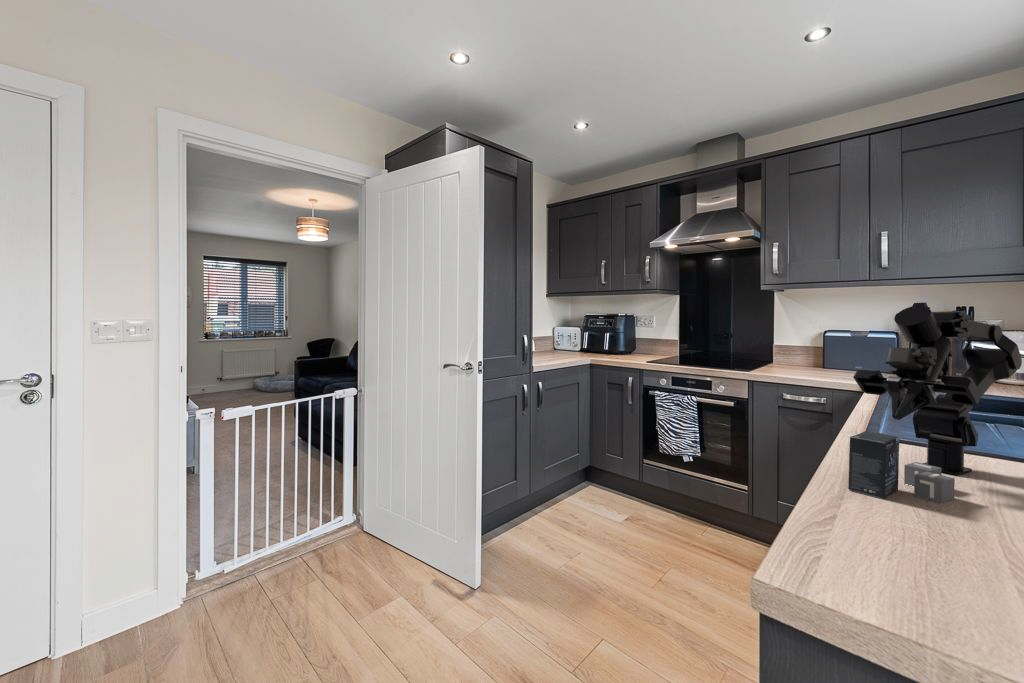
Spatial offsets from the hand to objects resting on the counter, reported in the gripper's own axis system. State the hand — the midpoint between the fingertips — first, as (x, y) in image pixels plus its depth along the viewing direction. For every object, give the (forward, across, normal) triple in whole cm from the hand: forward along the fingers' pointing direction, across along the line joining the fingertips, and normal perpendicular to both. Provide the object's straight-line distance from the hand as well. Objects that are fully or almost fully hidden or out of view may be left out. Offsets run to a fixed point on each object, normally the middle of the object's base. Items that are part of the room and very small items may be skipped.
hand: (895, 418), depth 87 cm
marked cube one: (+7, +3, +12) cm, 14 cm away
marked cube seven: (+11, +7, +8) cm, 15 cm away
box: (+15, 0, +4) cm, 15 cm away
